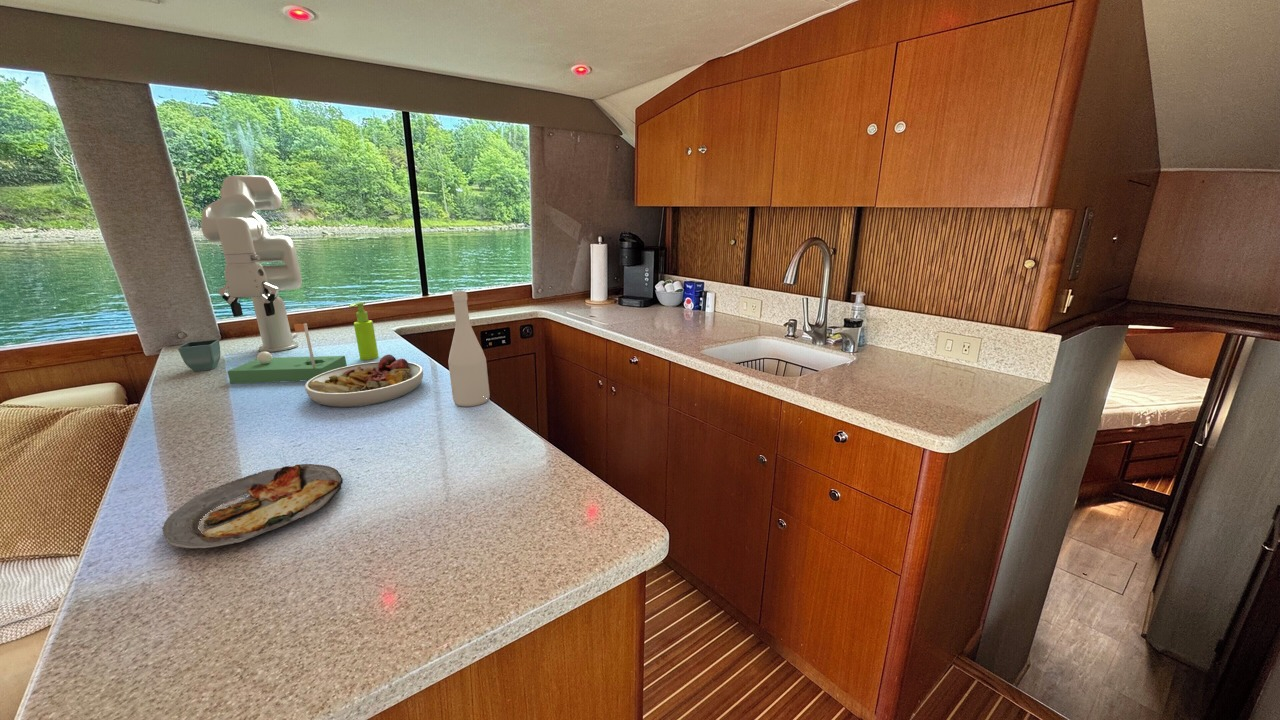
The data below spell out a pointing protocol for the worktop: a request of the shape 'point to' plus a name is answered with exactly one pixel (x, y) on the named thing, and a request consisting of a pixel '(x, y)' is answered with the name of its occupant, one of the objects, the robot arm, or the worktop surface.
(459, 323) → the wine bottle
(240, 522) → the food plate
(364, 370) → the bowl
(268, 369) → the putting mat
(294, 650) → the worktop surface
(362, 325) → the soap dispenser
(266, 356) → the ball
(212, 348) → the flower pot
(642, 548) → the worktop surface
